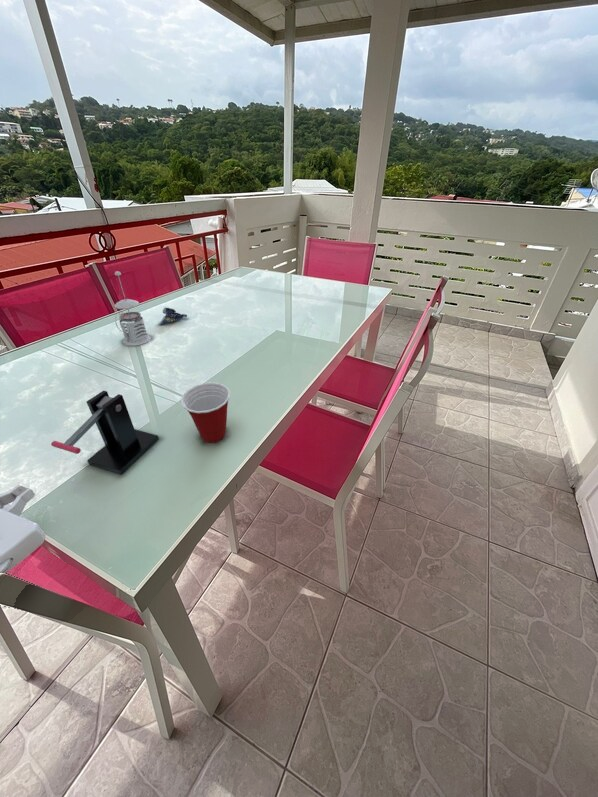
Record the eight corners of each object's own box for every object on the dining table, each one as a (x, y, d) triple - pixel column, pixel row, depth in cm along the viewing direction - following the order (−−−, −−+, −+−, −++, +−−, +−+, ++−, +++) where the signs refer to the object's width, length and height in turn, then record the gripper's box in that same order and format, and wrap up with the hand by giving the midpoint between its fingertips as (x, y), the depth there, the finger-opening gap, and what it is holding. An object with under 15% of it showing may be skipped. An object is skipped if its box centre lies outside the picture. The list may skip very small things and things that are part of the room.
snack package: (154, 318, 143) (159, 327, 134) (153, 304, 140) (158, 311, 131) (183, 318, 149) (189, 327, 140) (183, 304, 146) (189, 312, 137)
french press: (156, 336, 128) (139, 268, 113) (137, 349, 118) (115, 277, 104) (134, 333, 130) (114, 266, 115) (113, 345, 120) (89, 275, 106)
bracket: (121, 474, 70) (97, 420, 61) (88, 464, 72) (61, 410, 64) (159, 439, 79) (143, 387, 71) (128, 430, 81) (109, 379, 73)
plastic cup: (180, 441, 78) (169, 400, 72) (210, 417, 86) (203, 377, 80) (216, 457, 74) (208, 414, 68) (244, 429, 82) (239, 389, 75)
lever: (79, 457, 61) (72, 449, 59) (55, 449, 62) (47, 441, 61) (125, 407, 69) (120, 399, 67) (103, 401, 71) (97, 393, 69)
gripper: (-33, 579, 41) (66, 494, 51) (-131, 529, 46) (-23, 461, 57) (-7, 603, 44) (81, 519, 55) (-100, 554, 50) (-4, 486, 60)
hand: (27, 489), depth 56 cm, fingers closed
